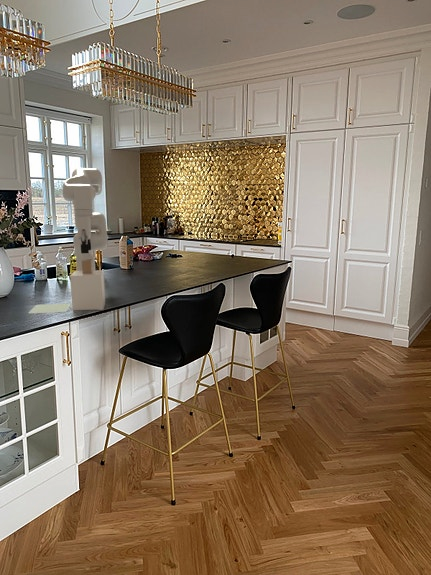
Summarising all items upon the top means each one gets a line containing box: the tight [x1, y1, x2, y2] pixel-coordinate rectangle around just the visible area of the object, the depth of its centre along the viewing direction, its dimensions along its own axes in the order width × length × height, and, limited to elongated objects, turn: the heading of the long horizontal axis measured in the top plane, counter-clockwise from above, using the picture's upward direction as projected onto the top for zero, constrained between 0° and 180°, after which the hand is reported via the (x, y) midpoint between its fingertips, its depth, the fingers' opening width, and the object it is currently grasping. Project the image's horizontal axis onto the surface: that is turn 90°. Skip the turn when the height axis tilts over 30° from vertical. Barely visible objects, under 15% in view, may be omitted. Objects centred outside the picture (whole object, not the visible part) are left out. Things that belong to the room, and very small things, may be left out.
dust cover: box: [69, 259, 106, 311], centre depth 202 cm, size 13×13×22 cm
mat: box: [28, 302, 72, 315], centre depth 200 cm, size 16×16×1 cm
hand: (86, 251), depth 199 cm, fingers open, 9 cm apart
